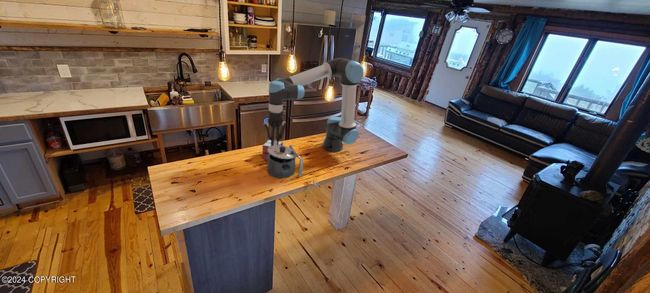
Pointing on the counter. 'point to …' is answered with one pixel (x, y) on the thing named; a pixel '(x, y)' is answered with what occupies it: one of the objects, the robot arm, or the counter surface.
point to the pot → (282, 166)
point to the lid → (283, 152)
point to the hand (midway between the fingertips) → (274, 150)
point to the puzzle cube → (265, 148)
